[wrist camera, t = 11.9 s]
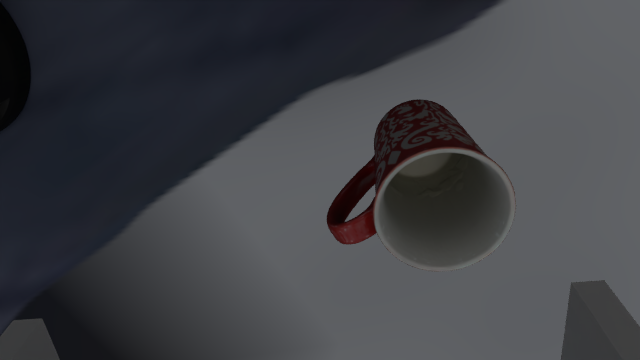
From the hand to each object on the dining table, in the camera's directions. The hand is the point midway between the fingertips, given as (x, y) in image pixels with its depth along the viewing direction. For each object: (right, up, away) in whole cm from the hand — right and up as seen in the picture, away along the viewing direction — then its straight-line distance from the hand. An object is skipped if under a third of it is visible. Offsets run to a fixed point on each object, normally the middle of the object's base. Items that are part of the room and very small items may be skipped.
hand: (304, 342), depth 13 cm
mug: (+7, +7, +33) cm, 34 cm away
